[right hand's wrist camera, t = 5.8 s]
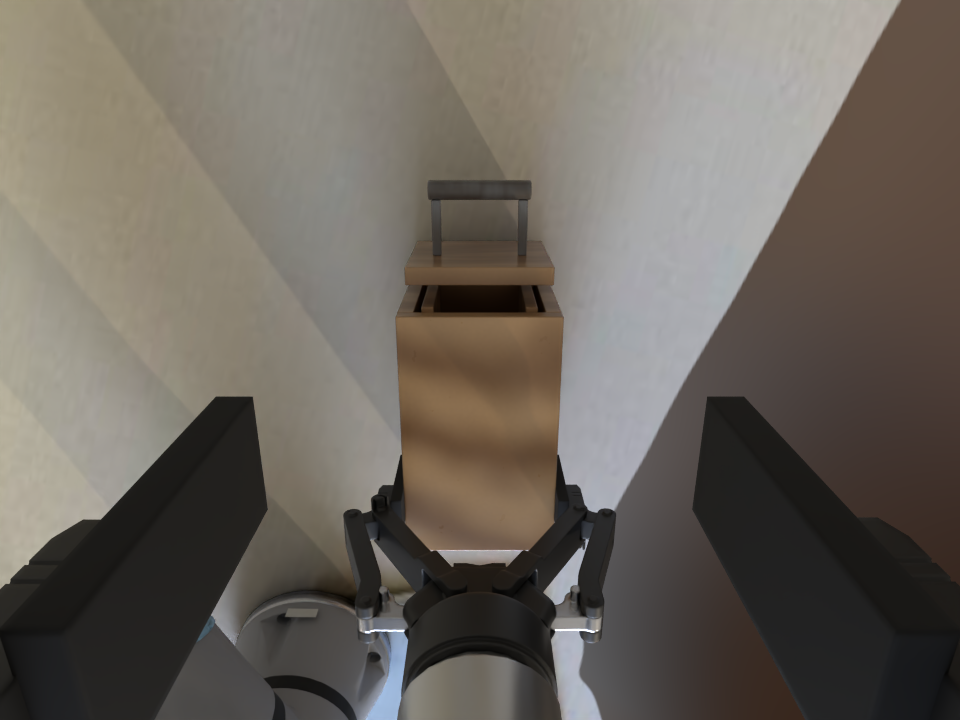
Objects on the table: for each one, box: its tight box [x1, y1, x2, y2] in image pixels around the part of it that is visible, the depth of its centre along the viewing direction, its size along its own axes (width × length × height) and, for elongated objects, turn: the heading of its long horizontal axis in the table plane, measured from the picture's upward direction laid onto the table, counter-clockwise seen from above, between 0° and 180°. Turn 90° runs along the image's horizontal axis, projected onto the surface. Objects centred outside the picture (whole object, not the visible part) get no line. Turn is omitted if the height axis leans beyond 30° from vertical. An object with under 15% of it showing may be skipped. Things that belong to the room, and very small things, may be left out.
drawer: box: [405, 180, 554, 313], centre depth 48 cm, size 22×10×10 cm, turn 0°
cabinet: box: [396, 285, 564, 551], centre depth 51 cm, size 18×11×12 cm, turn 0°
